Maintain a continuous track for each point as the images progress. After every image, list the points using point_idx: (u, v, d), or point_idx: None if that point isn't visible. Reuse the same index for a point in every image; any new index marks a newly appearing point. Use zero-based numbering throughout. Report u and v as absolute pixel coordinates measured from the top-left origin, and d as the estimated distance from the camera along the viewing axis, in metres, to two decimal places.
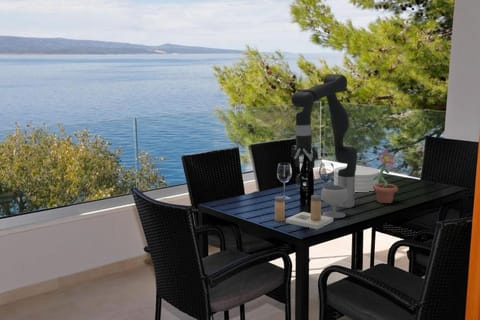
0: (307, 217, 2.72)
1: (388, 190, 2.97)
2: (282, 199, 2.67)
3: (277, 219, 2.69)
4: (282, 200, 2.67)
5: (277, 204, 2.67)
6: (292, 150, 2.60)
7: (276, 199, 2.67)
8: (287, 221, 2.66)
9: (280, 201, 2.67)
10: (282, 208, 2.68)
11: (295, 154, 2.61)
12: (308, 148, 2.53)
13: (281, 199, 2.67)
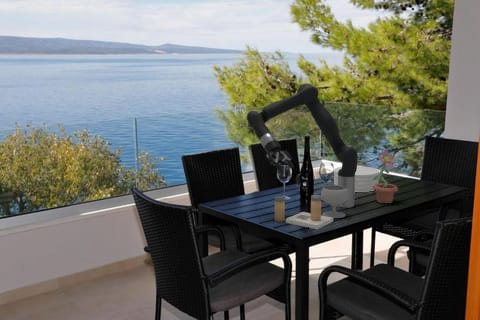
0: (307, 217, 2.72)
1: (388, 190, 2.97)
2: (282, 199, 2.67)
3: (277, 219, 2.69)
4: (282, 200, 2.67)
5: (277, 204, 2.67)
6: None
7: (276, 199, 2.67)
8: (287, 221, 2.66)
9: (280, 201, 2.67)
10: (282, 208, 2.68)
11: (289, 157, 2.70)
12: None
13: (281, 199, 2.67)
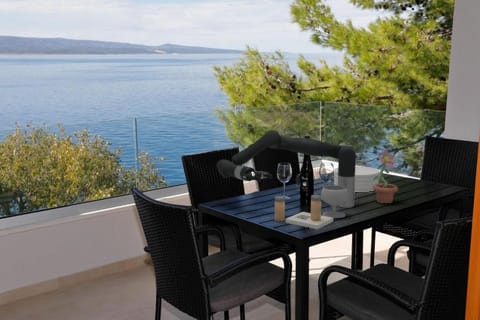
0: (307, 217, 2.72)
1: (388, 190, 2.97)
2: (282, 199, 2.67)
3: (277, 219, 2.69)
4: (282, 200, 2.67)
5: (277, 204, 2.67)
6: None
7: (276, 199, 2.67)
8: (287, 221, 2.66)
9: (280, 201, 2.67)
10: (282, 208, 2.68)
11: None
12: None
13: (281, 199, 2.67)
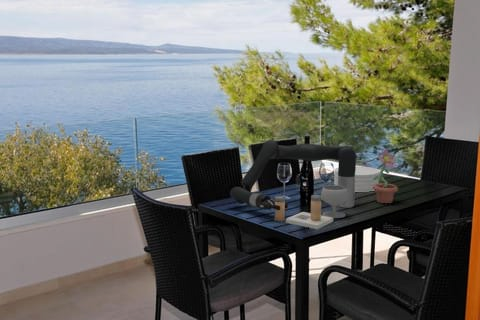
0: (307, 217, 2.72)
1: (388, 190, 2.97)
2: (282, 199, 2.67)
3: (277, 219, 2.69)
4: (282, 200, 2.67)
5: (277, 204, 2.67)
6: None
7: (276, 199, 2.67)
8: (287, 221, 2.66)
9: (280, 201, 2.67)
10: (282, 208, 2.68)
11: None
12: None
13: (281, 199, 2.67)
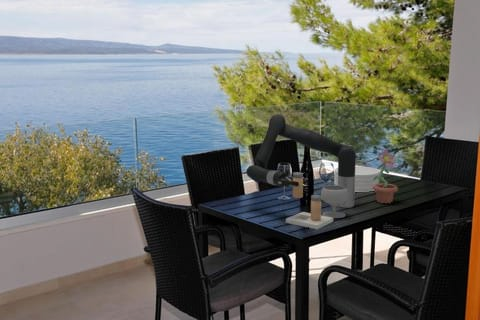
0: (307, 217, 2.72)
1: (388, 190, 2.97)
2: (300, 175, 2.63)
3: (295, 195, 2.65)
4: (300, 176, 2.63)
5: (295, 180, 2.64)
6: None
7: (294, 175, 2.64)
8: (287, 221, 2.66)
9: (298, 177, 2.63)
10: (300, 184, 2.64)
11: None
12: None
13: (299, 175, 2.63)
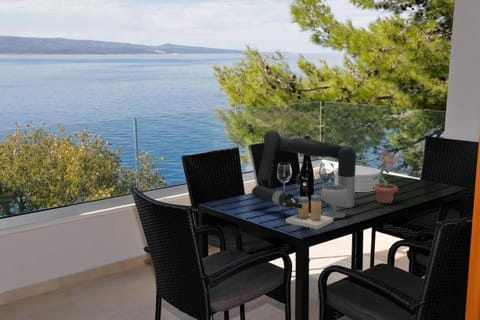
0: None
1: (388, 190, 2.97)
2: (306, 200, 2.65)
3: None
4: (306, 201, 2.65)
5: None
6: None
7: (300, 200, 2.66)
8: (287, 221, 2.66)
9: (304, 202, 2.65)
10: (306, 209, 2.66)
11: None
12: None
13: (305, 200, 2.65)
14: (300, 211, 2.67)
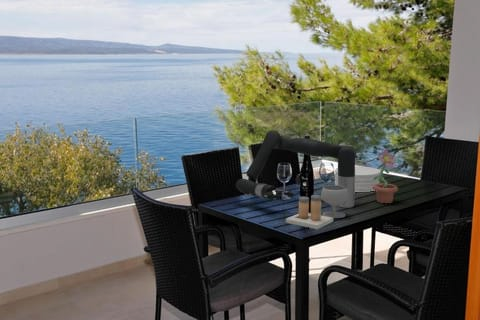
0: None
1: (388, 190, 2.97)
2: (306, 200, 2.65)
3: None
4: (306, 201, 2.65)
5: (301, 205, 2.66)
6: None
7: (300, 200, 2.66)
8: (287, 221, 2.66)
9: (304, 202, 2.65)
10: (306, 209, 2.66)
11: None
12: None
13: (305, 200, 2.65)
14: (300, 211, 2.67)
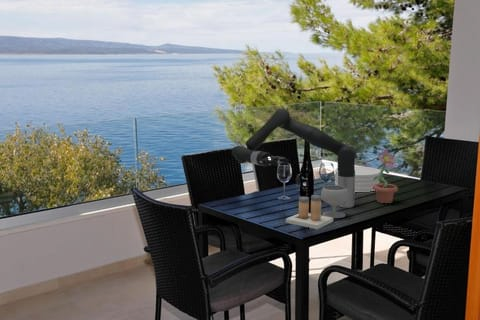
0: None
1: (388, 190, 2.97)
2: (306, 200, 2.65)
3: None
4: (306, 201, 2.65)
5: (301, 205, 2.66)
6: (280, 161, 2.85)
7: (300, 200, 2.66)
8: (287, 221, 2.66)
9: (304, 202, 2.65)
10: (306, 209, 2.66)
11: None
12: (265, 162, 2.80)
13: (305, 200, 2.65)
14: (300, 211, 2.67)
